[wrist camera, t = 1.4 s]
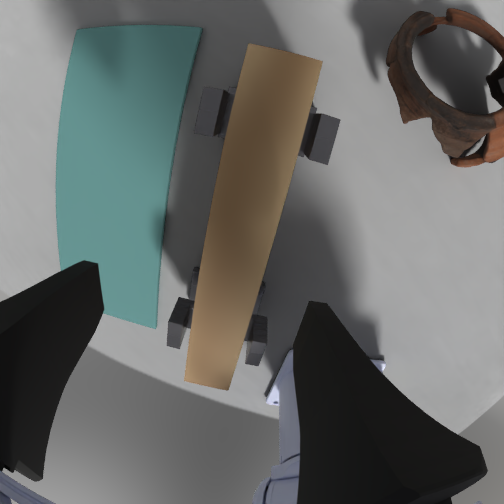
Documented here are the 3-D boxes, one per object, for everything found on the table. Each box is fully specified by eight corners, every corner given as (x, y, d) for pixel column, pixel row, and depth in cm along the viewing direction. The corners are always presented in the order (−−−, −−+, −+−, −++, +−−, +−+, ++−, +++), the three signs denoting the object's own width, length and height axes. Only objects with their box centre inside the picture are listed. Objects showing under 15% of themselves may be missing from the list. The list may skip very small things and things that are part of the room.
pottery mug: (421, 191, 18) (436, 177, 10) (367, 76, 18) (344, 15, 11) (544, 146, 12) (597, 120, 5) (486, 40, 12) (505, -21, 5)
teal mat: (202, 29, 13) (201, 27, 13) (156, 325, 23) (155, 329, 23) (80, 30, 13) (77, 29, 12) (67, 297, 23) (65, 299, 22)
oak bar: (312, 71, 11) (322, 61, 9) (232, 359, 19) (228, 390, 17) (252, 56, 11) (248, 43, 9) (192, 350, 19) (184, 380, 17)
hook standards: (320, 109, 15) (343, 108, 10) (259, 316, 22) (256, 371, 17) (225, 86, 15) (206, 75, 10) (186, 299, 22) (166, 351, 17)
